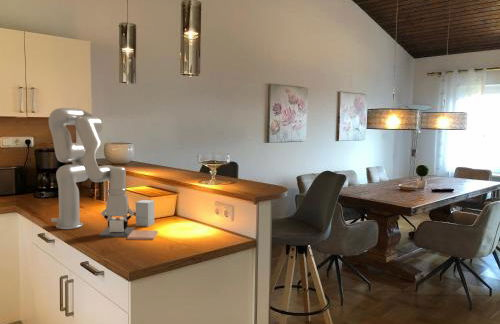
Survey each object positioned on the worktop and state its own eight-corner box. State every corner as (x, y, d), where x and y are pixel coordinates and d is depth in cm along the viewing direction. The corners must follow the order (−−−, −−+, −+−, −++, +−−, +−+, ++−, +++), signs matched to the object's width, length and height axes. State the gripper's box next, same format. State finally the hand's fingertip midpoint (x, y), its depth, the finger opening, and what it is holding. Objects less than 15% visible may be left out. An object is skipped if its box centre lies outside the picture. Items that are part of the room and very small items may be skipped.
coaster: (127, 239, 193) (127, 237, 193) (132, 232, 205) (132, 230, 205) (153, 239, 194) (153, 237, 194) (157, 232, 206) (157, 230, 205)
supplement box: (154, 223, 223) (155, 200, 222) (147, 226, 216) (148, 202, 215) (142, 222, 225) (142, 199, 224) (135, 225, 218) (135, 201, 217)
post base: (98, 236, 196) (98, 226, 195) (107, 229, 210) (107, 219, 209) (129, 237, 197) (129, 226, 196) (135, 229, 211) (135, 219, 210)
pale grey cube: (109, 231, 200) (109, 219, 199) (112, 228, 206) (112, 216, 206) (122, 232, 200) (122, 219, 200) (126, 228, 207) (126, 216, 206)
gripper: (97, 193, 197) (97, 230, 199) (134, 194, 198) (134, 230, 200) (101, 190, 205) (101, 226, 206) (137, 191, 206) (137, 226, 207)
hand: (117, 228), depth 203 cm, fingers closed on pale grey cube, 6 cm apart
